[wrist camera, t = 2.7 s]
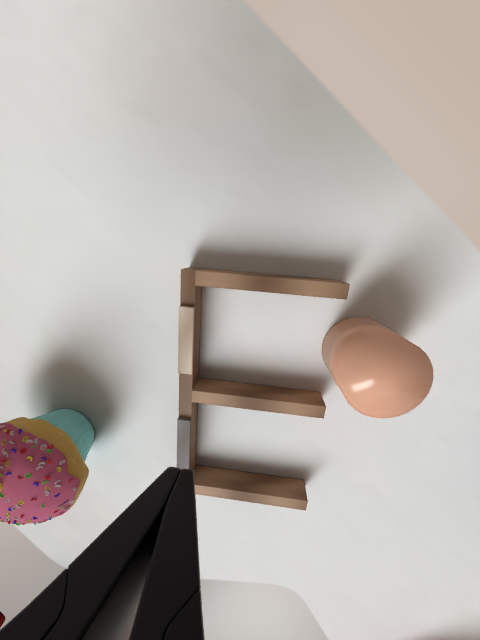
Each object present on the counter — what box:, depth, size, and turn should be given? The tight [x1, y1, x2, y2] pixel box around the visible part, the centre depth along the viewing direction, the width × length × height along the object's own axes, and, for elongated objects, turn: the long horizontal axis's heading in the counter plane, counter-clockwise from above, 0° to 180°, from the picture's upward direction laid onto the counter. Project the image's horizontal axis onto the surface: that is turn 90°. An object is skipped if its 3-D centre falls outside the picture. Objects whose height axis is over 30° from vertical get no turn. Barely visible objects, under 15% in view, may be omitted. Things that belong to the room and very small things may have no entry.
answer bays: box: [177, 267, 350, 510], centre depth 20 cm, size 11×19×2 cm, turn 176°
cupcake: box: [0, 409, 94, 525], centre depth 18 cm, size 9×8×12 cm
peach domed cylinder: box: [322, 317, 433, 418], centre depth 17 cm, size 5×5×5 cm
